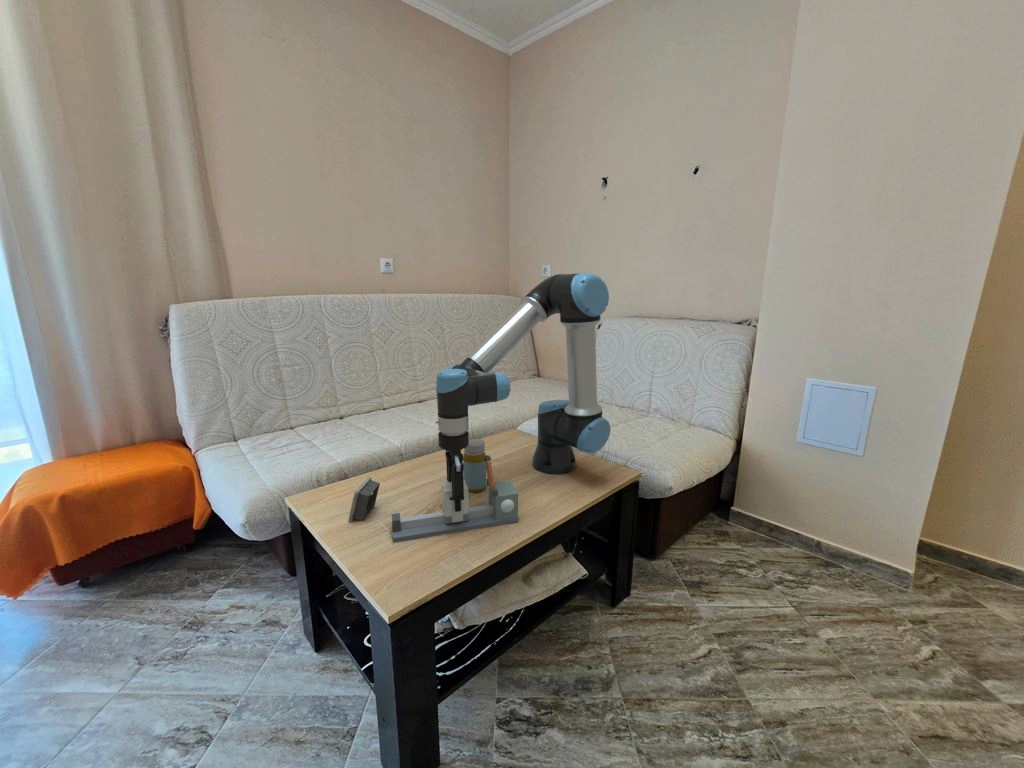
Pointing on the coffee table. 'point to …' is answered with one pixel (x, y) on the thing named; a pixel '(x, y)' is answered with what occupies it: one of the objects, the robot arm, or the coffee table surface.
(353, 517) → the electrical switch
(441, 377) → the robot arm
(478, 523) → the rail bench
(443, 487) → the carriage
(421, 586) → the coffee table surface
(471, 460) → the bottle
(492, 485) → the lever
